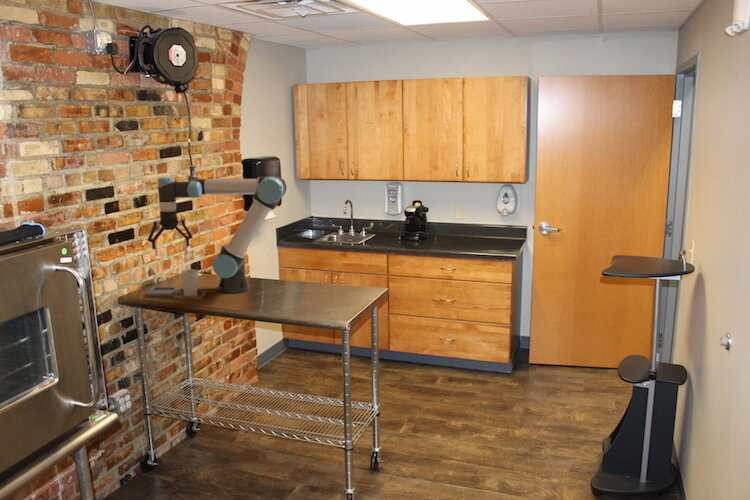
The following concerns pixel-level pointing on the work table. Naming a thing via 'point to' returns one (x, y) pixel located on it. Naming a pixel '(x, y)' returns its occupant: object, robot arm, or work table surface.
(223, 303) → the work table surface
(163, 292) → the tray
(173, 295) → the holder frame
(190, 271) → the cup
